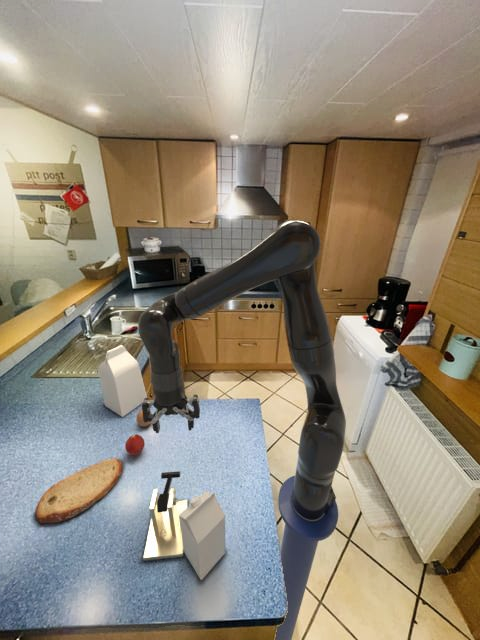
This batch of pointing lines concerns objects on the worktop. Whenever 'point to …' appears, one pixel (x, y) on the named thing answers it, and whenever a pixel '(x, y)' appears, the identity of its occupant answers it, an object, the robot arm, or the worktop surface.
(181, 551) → the switch bracket
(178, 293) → the robot arm
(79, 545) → the worktop surface
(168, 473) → the switch lever
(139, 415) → the egg
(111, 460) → the slice of bread
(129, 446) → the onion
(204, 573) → the milk carton
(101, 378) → the milk
